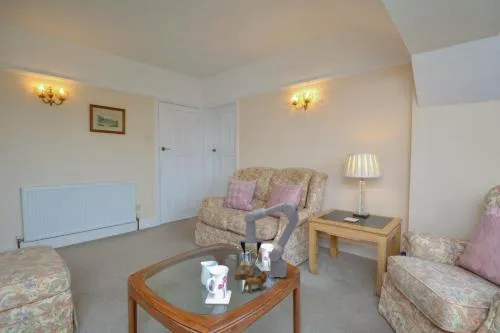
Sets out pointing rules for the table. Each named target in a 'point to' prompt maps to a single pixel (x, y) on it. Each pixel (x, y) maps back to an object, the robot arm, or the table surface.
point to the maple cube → (245, 267)
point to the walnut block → (244, 276)
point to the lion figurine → (256, 281)
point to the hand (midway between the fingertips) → (251, 254)
